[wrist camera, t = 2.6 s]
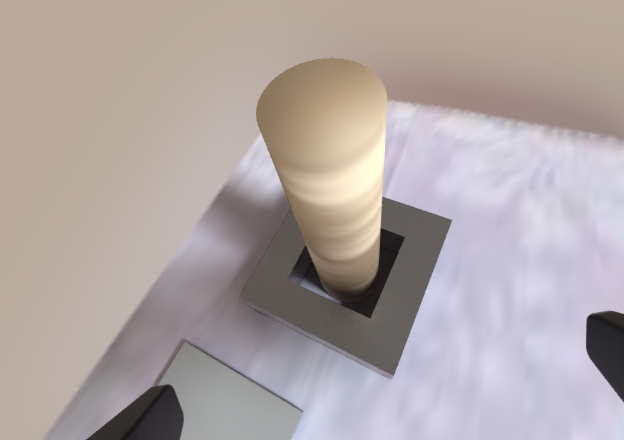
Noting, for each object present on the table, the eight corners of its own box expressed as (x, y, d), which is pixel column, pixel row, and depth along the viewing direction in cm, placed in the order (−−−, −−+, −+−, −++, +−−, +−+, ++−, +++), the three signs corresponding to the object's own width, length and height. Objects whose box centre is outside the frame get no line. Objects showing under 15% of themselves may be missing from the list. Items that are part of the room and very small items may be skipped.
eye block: (444, 238, 22) (452, 220, 20) (391, 379, 19) (393, 376, 16) (316, 193, 25) (311, 173, 23) (252, 308, 22) (238, 297, 19)
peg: (387, 259, 22) (407, 72, 10) (364, 311, 21) (353, 172, 8) (335, 238, 23) (294, 49, 11) (310, 287, 22) (231, 133, 10)
